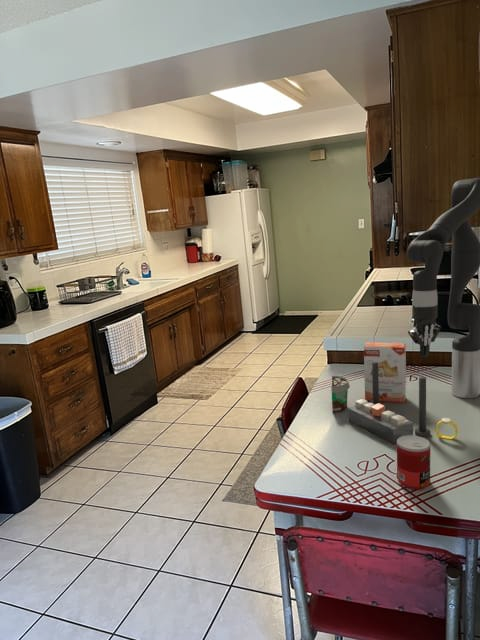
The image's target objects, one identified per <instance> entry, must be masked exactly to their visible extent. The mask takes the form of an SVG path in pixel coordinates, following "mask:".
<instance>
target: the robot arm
mask: <svg viewBox="0 0 480 640" xmlns="http://www.w3.org/2000/svg"><path fill="white" fill-rule="evenodd" d="M450 194H451V201H450V203H451V204H450V205H451V208H450V209H449V210H447V211H446V212H444V213H442V214H441V215H440V216H439V217H437V218H436V219H435V221H434V222H433V223H432V225H431V226H430V227H429V228H428V229H427V230H425V231H424V232H422V233H421V234H419V235H417V237H415V238H414V239H413V240H412V241H411V242H410V243H409V245H408V247H407V250H406V255H407V256H406V257H407V259H408V260H409V261H410V262H412V263H417V264H425V266H424V269H421V270H417V271H415V272H414V273H413V275H412V297H411V301H412V302H411V303H412V305H411V306H412V307H411V311H412V314H411V316H412V319H413V321H414V322H413V328H412V329H411V330H407V334H408V335H409V337H410V338H411V340H412V341H413V342H414V344H416V345H419V355H420V356H421V357H425V358H426V357H429V355H430V351H431V349H430V346H431V343H435V341H436V339H437V337H438V335H439V333H440V331H441V329H442V325H439V324H438V323H437V321H436V319H438V305H439V304H438V302H439V301H438V299H439V297H438V288H437V286H438V285H437V284H438V283H437V281H438V279H437V278H438V274H439V270H440V265H441V263H442V259H443V256H444V248H443V246H444V245H446V244H447V243H448V241H449V240H450V239H451V238H452V240H451V241H452V242H451V259H450V260H451V261H450V263H451V264H450V290H449V299H448V307H447V324H448V326H449V328H451V329H454V330H465V331H468V334H467V335H464V336H461V337H456V338H454V339H453V340H452V342H451V343H452V344H451V395H453V396H455V397H457V398H462V399H476V398H478V397H480V304H478V303H477V304H476V303H465V302H462V298H463V294H464V292H465V290H466V288H467V286H468V285H469V283H470V282H471V280H472V279H473V277H474V276H475V275H476V273H477V272H478V270H479V269H480V239H479V238H478V237H477V235H476V233H475V231H474V229H473V228H472V226H471V224H470V221H469V218H471V217H472V216H473V215H474V214H475V213H477V212H478V211H479V210H480V177H473V178H468V179H467V178H466V179H465V178H464V179H459V180H457V181H455V182H454V184H453V185H452V189H451V193H450Z"/></svg>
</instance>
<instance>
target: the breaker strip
mask: <svg viewBox="0 0 480 640" xmlns="http://www.w3.org/2000/svg"><path fill="white" fill-rule="evenodd" d="M368 401H369V400H365V399H363V398H362V399H361V398H360V399H358V400H355V401H354V405H353V406H351V407H347V414H348V415H347V416H348V423H349V424H352V425H353V426H356V427H357V428H360V429H361V430H364V431H365V432H367V433H369V434H371V435H373V436H374V437H377V438H379V439H381V440H383V441H384V442H387V443H389V444H390V445H392V446H395V445H397V439H398V438H400V437H402V436H408V435H412V436H414V422H413V421H411V420H408V419H406V417H405V416H402V415H400V414H396V412H393V411H391V410H386V409H385V412H382V413H381V415H380V416H379V417H378V416H376V415H374V414H372V410H371V407H372V406H374V405H375V404H373V402H368Z"/></svg>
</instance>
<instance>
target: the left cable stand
mask: <svg viewBox="0 0 480 640" xmlns="http://www.w3.org/2000/svg"><path fill="white" fill-rule="evenodd" d="M372 385H373V401H372V403H373V404H375V405H376V404H377V403H379V404H380V401H379V379H378V362H372Z"/></svg>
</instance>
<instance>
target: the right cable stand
mask: <svg viewBox="0 0 480 640" xmlns="http://www.w3.org/2000/svg"><path fill="white" fill-rule="evenodd" d="M414 436H419V437H422V438H429V437H430V436H431V430H430V429H429V428H428V427H427V378H426V377H425V376H424V377H423V376H422V377H421V376H419V378H418V427H416V428H415V429H414Z"/></svg>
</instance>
